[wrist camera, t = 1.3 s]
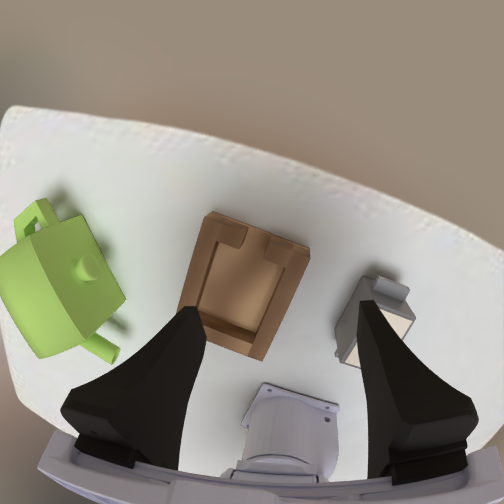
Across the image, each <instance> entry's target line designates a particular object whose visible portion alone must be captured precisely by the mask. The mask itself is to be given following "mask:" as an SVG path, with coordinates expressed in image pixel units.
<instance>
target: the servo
mask: <svg viewBox="0 0 504 504" xmlns="http://www.w3.org/2000/svg"><path fill="white" fill-rule="evenodd" d="M409 291H410V289H409V288H408V287H407V286H404V285H402V284H399V283H397V282H395V281H392V280H390V279H387V278H385V277H383V276H380V275H377V277H376V279H375V280H373V279H370V278H368V277H365V276H362V278H361V280H360V282H359V284H358V286H357V288H356V290H355V292H354V294H353V296H352V298H351V300H350V301H349V303H348V305H347V307H346V309H345V311H344V313H343V315H342V317H341V318H340V320H339V322H338V324H337V326H336V327H335V335H336V341H337V350H336V351H335V357H338V358H339V361H340V363H343V364H346V365H349V366H352V367H355V368H359V369H361V367H360V362H359V356H358V347H357V335H356V334H357V324H358V313H359V302H360V301H363V300H374V301H375V302H376V304H377V305H378V307H379V308H380V310H381V312H382V313H383V315H384V316H385V318H386V319H387V321H388V322H389V324H390V325H391V326H392V328H393V329H394V330H395V332H396V333H397V334H398V336H399V337H400V338H401V339H402V341H403V339H404V337H405V336H406V334H407V333H408V331H409V329H410V328H411V326H412V324H413V323H414V321H415V319H416V316H415V315H414V313H413V312H412V310H411V309H410V307H409V305H408V304H407V302H406V301H405V299H406V297H407V295H408V293H409Z"/></svg>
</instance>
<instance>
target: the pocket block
mask: <svg viewBox="0 0 504 504" xmlns="http://www.w3.org/2000/svg"><path fill="white" fill-rule="evenodd" d="M309 260H310V249H309V248H307V247H304V246H302V245H299V244H296V243H294V242H291V241H289V240H286V239H284V238H281V237H278V236H276V235H273V234H271V233H268V232H266V231H263V230H260V229H258V228H255V227H252V226H250V225H247V224H245V223H242V222H239V221H237V220H234V219H231V218H229V217H226V216H223V215H221V214H218V213H215V212H211V213H210V214H208V215H207V216H205V217H204V219H203V222H202V226H201V229H200V232H199V235H198V239H197V242H196V245H195V249H194V252H193V255H192V259H191V262H190V266H189V269H188V273H187V276H186V280H185V283H184V287H183V290H182V294H181V297H180V301H179V305H178V308H177V312H176V314H177V313H178V312H179V311H180V310H181V309H182V308H183V307H184V306H197V309H198V312H199V315H200V318H201V321H202V324H203V327H204V330H205V333H206V336H207V341H209V342H212V343H214V344H217V345H219V346H222V347H224V348H227V349H229V350H232V351H235V352H237V353H240V354H243V355H245V356H248V357H251V358H254V359H256V360H259V361H263V359H264V357H265V355H266V353H267V351H268V349H269V347H270V345H271V343H272V341H273V338H274V336H275V334H276V332H277V330H278V328H279V326H280V324H281V322H282V320H283V317H284V315H285V313H286V311H287V309H288V307H289V305H290V302H291V300H292V298H293V296H294V294H295V291H296V289H297V287H298V285H299V283H300V280H301V278H302V276H303V274H304V271H305V269H306V267H307V265H308V262H309Z"/></svg>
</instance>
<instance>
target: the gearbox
mask: <svg viewBox="0 0 504 504" xmlns="http://www.w3.org/2000/svg"><path fill="white" fill-rule="evenodd" d="M38 221H39V223H40V226H41V228H42V230H40V231H37V232H35V226H34V225H35V224H36V223H37V222H38ZM14 227H15V233H16V240H17V244H15V245H14V246H12V247H11V248H10V249H9V250H7V251H6V252H5V253H4V254H2V255H1V256H0V296H1V298H2V300H3V302H4V304H5V306H6V308H7V310H8V312H9V314H10V316H11V317H12V319H13V321H14V323H15V324H16V326H17V328H18V329H19V331H20V332H21V334H22V335H23V337H24V339H25V340H26V342H27V343H28V345H29V346H30V348H31V349H32V351H33V352H34V353H35V355H36V356H37V357H38V358H39V359H42V358H47V357H50V356H53V355H56V354H59V353H61V352H64V351H66V350H68V349H71V348H73V347H75V346H77V345H81V346H82V347H84V348H85V349H87V350H88V351H90V352H92V353H93V354H95V355H96V356H98V357H100V358H101V359H103V360H104V361H106V362H108V363H109V364H111V365H112V364H113V363H114V362H115V361H116V359H117V357H118V355H119V352H120V348H119V347H118V346H116V345H114V344H113V343H111V342H110V341H108V340H106V339H105V338H103V337H102V336H100V335H98V334H97V333H95V332H96V331H97V329H98V328H99V327H100V326H101V325H102V324H103V323H104V322H105V321H106V320H107V319H108V318H109V317H110V316H111V315H112V314H113V313H114V312H115V311H116V310H117V309H118V308H119V307H120V306H121V305H122V304H123V303H124V302H125V297H124V295H123V293H122V291H121V289H120V287H119V285H118V283H117V282H116V280H115V278H114V276H113V274H112V272H111V270H110V268H109V266H108V264H107V263H106V261H105V259H104V257H103V255H102V253H101V251H100V249H99V247H98V245H97V243H96V241H95V239H94V237H93V235H92V233H91V231H90V229H89V227H88V225H87V224H86V222H85V220H84V218H83V216H82V215H79V216H76V217H73V218H70V219H68V220H65V221H62V222H60V221H59V220H58V218H57V216H56V214H55V213H54V211H53V209H52V207H51V205H50V204H49V202H48V200H47V198H44V199H40V200H36V201H34V202H33V203H32V204H31V205H30V206H29V207H27V208H26V209H25V210H24V211H23V212H22V213H21V214H20V215H19V216H18V217H16V218H15V219H14Z"/></svg>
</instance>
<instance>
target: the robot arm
mask: <svg viewBox="0 0 504 504" xmlns="http://www.w3.org/2000/svg"><path fill="white" fill-rule="evenodd" d="M356 335H357V347H358V356H359V362H360V367H361V372H362V377H363V383H364V388H365V394H366V400H367V413H368V477H367V479H365V480H354V481H341V482H329V481H328V479H329V478H330V476H331V475H332V473H333V471H334V469H335V467H336V464H337V460H338V454H339V445H338V430H337V417H336V414H337V412H338V411H339V406H338V405H335V404H331V403H327V402H324V401H320V400H317V399H313V398H310V397H306V396H303V395H300V394H296V393H293V392H290V391H287V390H284V389H281V388H277V387H274V386H271V385H268V384H263V385H262V386H261V388H260V390H259V391H258V393H257V395H256V397H255V399H254V401H253V402H252V404H251V406H250V408H249V410H248V411H247V413H246V415H245V417H244V418H243V420H242V422H241V426H242V427H244V428H247V429H249V430H248V434H247V439H246V443H245V448H244V452H243V457H242V460H238V462H237V466H236V469H232V468H229V469H227V470H226V471H225V472H224V473H222V474H221V476H220V477H212V476H205V475H199V474H193V473H187V472H182V471H178V464H179V453H180V445H181V438H182V431H183V426H184V420H185V415H186V410H187V405H188V401H189V398H190V394H191V391H192V388H193V386H194V383H195V380H196V377H197V374H198V371H199V368H200V365H201V362H202V359H203V355H204V351H205V345H206V340H207V336H206V333H205V330H204V327H203V324H202V321H201V318H200V315H199V312H198V309H197V306H184V307H183V308H182V309H181V310H180V311H179V312H178V313H177V314H176V315H175V316H174V317H173V318H172V319H171V320H170V321H169V322H168V323H167V324H166V325H165V326H164V327H163V328H162V329H161V330H160V331H159V332H158V333H157V334H156V335H155V336H154V337H153V338H152V339H151V340H150V341H149V342H148V343H147V344H146V345H144V346H143V347H142V348H141V349H140V350H139V351H138V352H136V353H135V354H134V355H133V356H131V357H130V358H129V359H127V360H126V361H125V362H123V363H122V364H120V365H119V366H117V367H115V368H114V369H112V370H111V371H109V372H108V373H106V374H104V375H102V376H100V377H99V378H97V379H95V380H93V381H91V382H88V383H86V384H84V385H81V386H79V387H76V388H74V389H71V391H70V393H69V394H68V396H67V398H66V400H65V402H64V403H63V405H62V407H61V409H60V412H61V414H62V416H63V417H64V419H65V420H66V421H67V422H68V423H69V424H70V425H71V426H72V427H73V428H74V429H75V430H76V431H77V432H78V433H80V434H79V436H78V439H77V438H76V437H74V436H72V435H70V434H68V433H65V432H63V431H60V430H57V429H56V430H55V431H54V433H53V435H52V437H51V439H50V441H49V443H48V445H47V447H46V450H45V451H44V454H43V455H42V458H41V460H40V462H39V464H38V466H37V468H38V469H39V470H40V471H41V472H43V473H44V474H46V475H47V476H49V477H50V478H52V479H53V480H55V481H56V482H58V483H59V484H61V485H63V486H64V487H66V488H67V489H69V490H71V491H73V492H75V493H78V494H80V495H82V496H84V497H86V498H89V499H91V500H93V501H95V502H98V503H100V504H496V503H497V502H499V501H501V500H502V499H504V477H503V472H502V467H501V462H500V458H499V453H498V449H497V446H496V445H494V446H491V447H487V448H484V449H481V450H478V451H475V452H472V453H470V454H468V455H467V456H466V452H465V449H466V448H467V441H466V438H467V437H468V436H469V435H470V434H471V432H472V431H473V430H474V429H475V427H476V426H477V424H478V421H479V418H478V415H477V411H476V409H475V406H474V404H473V402H472V400H471V398H470V397H468V396H466V395H465V394H463V393H461V392H460V391H458V390H456V389H455V388H453V387H452V386H450V385H449V384H448V383H446V382H445V381H443V380H442V379H441V378H440V377H438V376H437V375H436V374H435V373H433V372H432V371H431V370H430V369H429V368H428V367H427V366H426V365H424V364H423V363H422V362H421V361H420V360H419V359H418V358H417V357H416V356H415V355H414V353H413V352H412V351H411V350H410V349H409V348H408V347H407V346H406V344H405V343H404V342H403V341H402V339H401V338H400V337H399V336H398V334H397V333H396V332H395V330H394V329H393V328H392V326H391V325H390V324H389V322H388V321H387V319H386V318H385V316H384V315H383V313H382V312H381V310H380V308H379V307H378V305H377V304H376V302H375V301H374V300H363V301H360V302H359V313H358V324H357V334H356ZM269 389H271V390H269ZM327 406H329V407H327Z"/></svg>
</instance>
